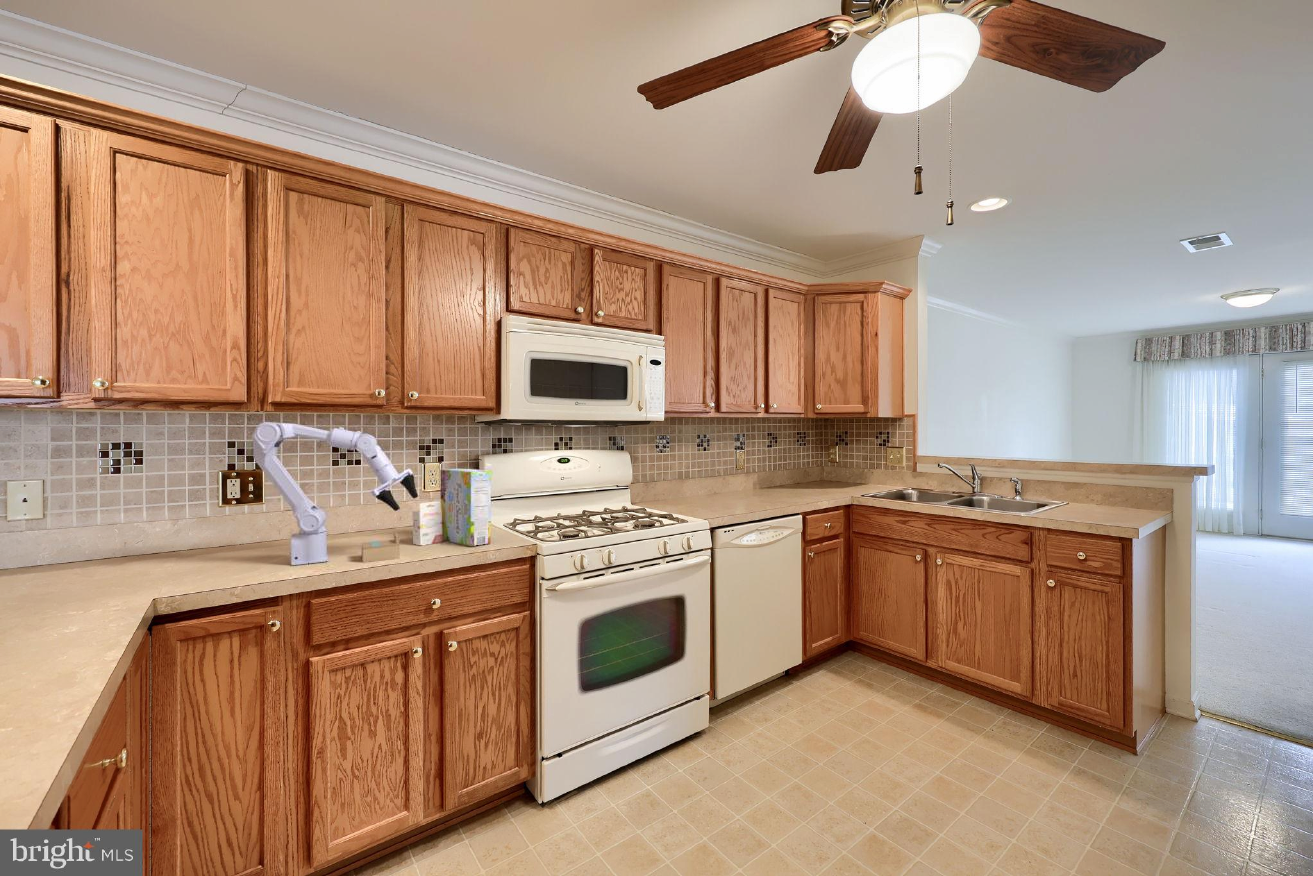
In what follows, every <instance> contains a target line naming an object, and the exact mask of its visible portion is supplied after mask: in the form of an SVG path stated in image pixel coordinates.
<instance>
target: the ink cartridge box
mask: <svg viewBox="0 0 1313 876" xmlns="http://www.w3.org/2000/svg"><path fill="white" fill-rule="evenodd" d="M430 505H431V506H430ZM429 506H430V507H429ZM412 538H413V539H412V540H413V541H412V542H413V543H412V544H413V545H414V544H416V545H415V546H419V545H423V546H427V545H426V544H429V545H432V544H433V543H434V544H438V543H437V542H439V543H443V540H442V510H441V500H438V501H437V500H436V501H429V502H428V501H427V502H421V503H419V510H412Z"/></svg>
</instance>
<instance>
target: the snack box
mask: <svg viewBox="0 0 1313 876" xmlns="http://www.w3.org/2000/svg"><path fill="white" fill-rule="evenodd" d="M439 472H440V501H441V510H442V541H447V542H451V543H455V544H460V545H463V546H468V547H477V546H476V545H479V546H482V545H483V544H485V545H490V544H491V541H492V540H491V539H492V535H491V534H492V531H491V527H492V523H491V521H492V520H491V518H492V517H491V515H492V514H491V513H492V510H491V508H492V504H491V503H492V501H491V500H492V499H491V498H492V493H491V492H492V491H491V490H492V471H491V470H486V469H485V470H484V469H475V468H442V469H440V471H439ZM483 546H484V545H483Z"/></svg>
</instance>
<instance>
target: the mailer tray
mask: <svg viewBox="0 0 1313 876" xmlns="http://www.w3.org/2000/svg"><path fill="white" fill-rule="evenodd" d="M400 554H401V553H400V545H399V546H389V547H379V548H369V549H363V547H362V546H361V559H362V563H370V562H369V561H372V562H379V561H381V560H382V561H389V560H391V561H392V560H397V559H396V558H400ZM400 559H401V558H400ZM382 561H381V562H382Z"/></svg>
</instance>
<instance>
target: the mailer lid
mask: <svg viewBox="0 0 1313 876" xmlns="http://www.w3.org/2000/svg"><path fill="white" fill-rule="evenodd" d="M389 546H399V547H400V536H399V534H398V533H397V532H396V533H394V534H393V539H388V540H387V539H386V540H379V541H378V540H375V541H366V542H365V541H364V542H361V548H362V547H363V549H369V548H379V547H389Z"/></svg>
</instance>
